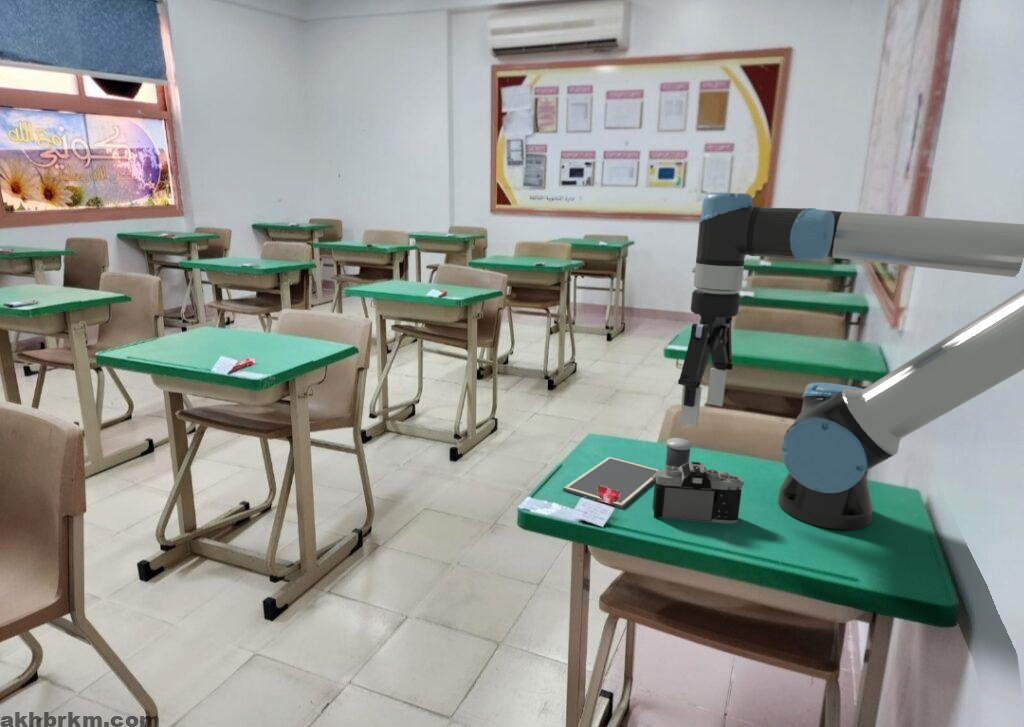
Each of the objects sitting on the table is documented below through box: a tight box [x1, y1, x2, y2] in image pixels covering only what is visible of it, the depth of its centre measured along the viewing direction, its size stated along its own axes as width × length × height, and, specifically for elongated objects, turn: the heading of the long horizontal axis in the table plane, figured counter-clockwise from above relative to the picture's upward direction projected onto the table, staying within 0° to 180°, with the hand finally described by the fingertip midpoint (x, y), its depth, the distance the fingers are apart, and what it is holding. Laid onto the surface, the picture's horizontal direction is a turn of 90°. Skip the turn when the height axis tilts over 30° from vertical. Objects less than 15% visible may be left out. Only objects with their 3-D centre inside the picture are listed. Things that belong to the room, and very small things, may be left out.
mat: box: [562, 456, 658, 510], centre depth 125 cm, size 12×19×1 cm, turn 146°
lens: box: [664, 437, 693, 468], centre depth 128 cm, size 5×5×7 cm
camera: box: [652, 461, 745, 524], centre depth 113 cm, size 16×9×10 cm, turn 84°
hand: (702, 414), depth 111 cm, fingers open, 13 cm apart
